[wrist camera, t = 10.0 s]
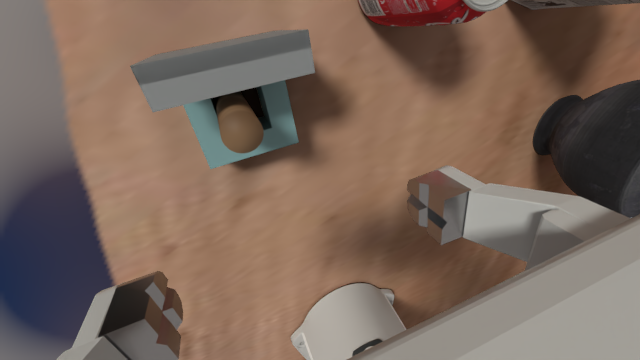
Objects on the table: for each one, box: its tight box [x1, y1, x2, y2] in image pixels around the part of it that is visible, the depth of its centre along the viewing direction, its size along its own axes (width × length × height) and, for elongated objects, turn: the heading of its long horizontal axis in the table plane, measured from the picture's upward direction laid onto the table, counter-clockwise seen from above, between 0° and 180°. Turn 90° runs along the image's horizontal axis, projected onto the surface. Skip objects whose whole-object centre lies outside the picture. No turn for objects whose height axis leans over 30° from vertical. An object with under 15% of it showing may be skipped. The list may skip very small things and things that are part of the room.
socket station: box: [130, 30, 315, 169], centre depth 22 cm, size 9×10×9 cm
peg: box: [215, 91, 264, 153], centre depth 21 cm, size 3×3×10 cm
